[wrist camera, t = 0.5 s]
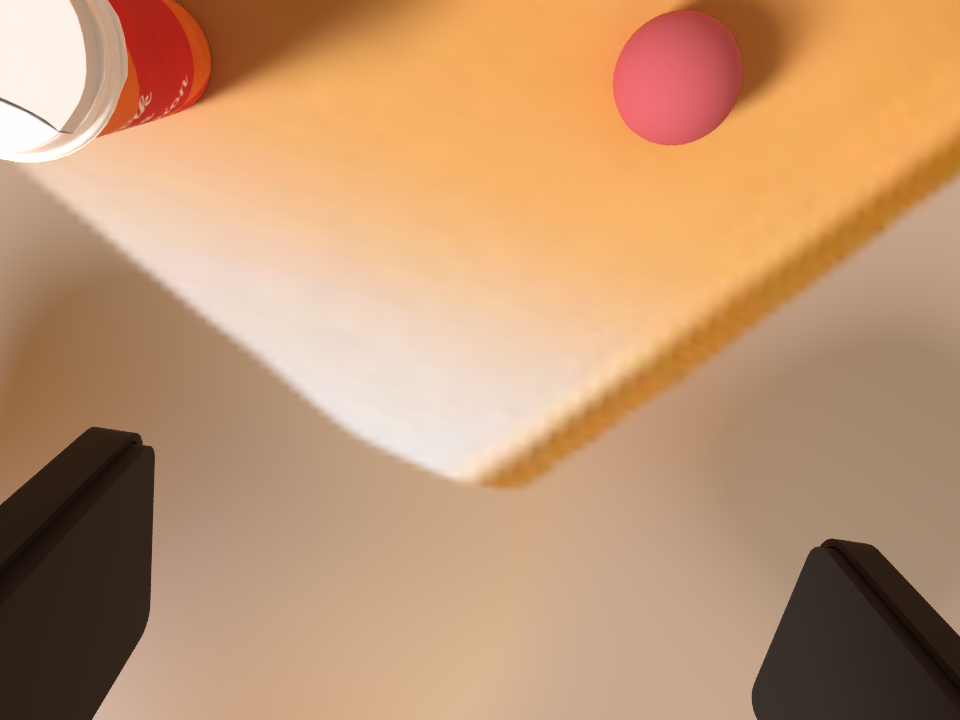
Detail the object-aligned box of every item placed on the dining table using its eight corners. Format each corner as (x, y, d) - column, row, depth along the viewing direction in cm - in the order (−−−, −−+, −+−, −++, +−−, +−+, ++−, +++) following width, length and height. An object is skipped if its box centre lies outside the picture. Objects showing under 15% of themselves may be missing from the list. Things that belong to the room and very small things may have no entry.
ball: (578, 86, 36) (601, 86, 30) (661, -12, 34) (702, -30, 29) (656, 163, 37) (692, 178, 32) (739, 74, 36) (792, 73, 30)
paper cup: (84, 127, 36) (-126, 153, 23) (67, -42, 33) (-185, -123, 20) (238, 143, 36) (119, 178, 23) (234, -21, 33) (96, -86, 20)
